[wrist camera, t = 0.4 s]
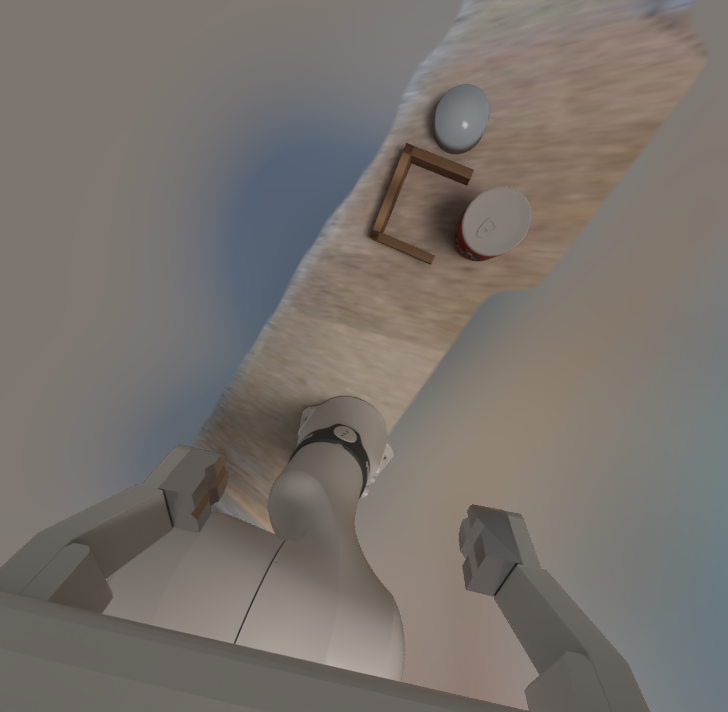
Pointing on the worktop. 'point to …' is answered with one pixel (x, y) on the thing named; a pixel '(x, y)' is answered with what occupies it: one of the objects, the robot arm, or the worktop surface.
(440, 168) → the bay
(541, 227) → the worktop surface
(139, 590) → the robot arm
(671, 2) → the worktop surface
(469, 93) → the grey rounded cylinder
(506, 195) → the canned food
